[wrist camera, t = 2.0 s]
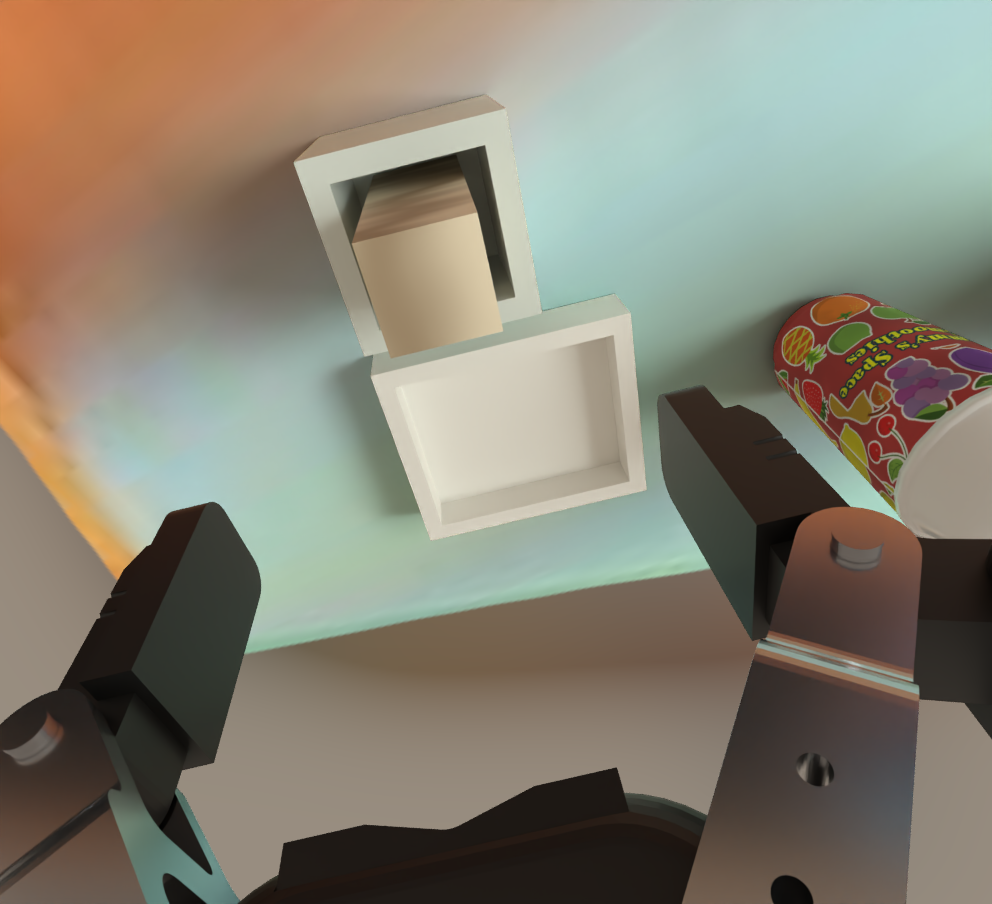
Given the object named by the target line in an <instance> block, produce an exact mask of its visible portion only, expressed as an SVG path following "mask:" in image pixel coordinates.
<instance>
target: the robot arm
mask: <svg viewBox="0 0 992 904" xmlns="http://www.w3.org/2000/svg"><path fill="white" fill-rule="evenodd" d="M657 407H658V422H659V436H660V450H661V464H662V471H663V476H664V480H665V484H666V487H667V490H668V493H669V495H670V497H671V499H672V501H673V503H674V505H675V506H676V508H677V510H678V512H679V513H680V515H681V517H682V519H683V521H684V522H685V524H686V526H687V528H688V529H689V531H690V533H691V535H692V536H693V538H694V540H695V542H696V543H697V545H698V547H699V549H700V550H701V552H702V554H703V556H704V557H705V559H706V561H707V563H708V564H709V566H710V568H711V570H712V571H713V573H714V575H715V577H716V579H717V580H718V582H719V584H720V586H721V587H722V589H723V591H724V593H725V594H726V596H727V598H728V600H729V601H730V603H731V605H732V607H733V608H734V610H735V612H736V614H737V615H738V617H739V619H740V621H741V622H742V624H743V626H744V628H745V629H746V631H747V633H748V635H749V636H750V638H751V640H752V641H754V640H757V639H761V640H760V641H759V643H758V645H757V648H756V651H755V653H754V657H753V660H752V663H751V667H750V670H749V674H748V677H747V681H746V684H745V688H744V691H743V695H742V698H741V702H740V705H739V708H738V712H737V715H736V719H735V722H734V726H733V729H732V732H731V736H730V740H729V743H728V746H727V750H726V753H725V757H724V760H723V764H722V767H721V770H720V774H719V777H718V781H717V784H716V788H715V791H714V795H713V798H712V802H711V805H710V808H709V812H708V815H705V814H703V813H701V812H699V811H697V810H694V809H692V808H690V807H688V806H686V805H683V804H680V803H677V802H674V801H670V800H668V799H665V798H660V797H654V796H649V795H644V794H634V793H624V791H623V788H622V784H621V780H620V777H619V773H618V770H617V768H612V769H608V770H603V771H599V772H595V773H590V774H586V775H582V776H577V777H573V778H568V779H564V780H560V781H556V782H551V783H546V784H542V785H537V786H534V787H532V788H530V789H528V790H526V791H524V792H522V793H520V794H519V795H517V796H515V797H513V798H511V799H509V800H507V801H505V802H503V803H501V804H499V805H498V806H496V807H494V808H492V809H490V810H488V811H486V812H484V813H482V814H481V815H479V816H477V817H475V818H473V819H471V820H469V821H467V822H465V823H463V824H462V825H460V826H457V827H455V828H452V829H447V830H438V829H421V828H407V827H391V826H390V827H389V826H376V825H362V826H357V827H353V828H348V829H344V830H340V831H335V832H331V833H326V834H322V835H317V836H314V837H309V838H305V839H300V840H296V841H291V842H287V843H284V844H283V850H282V857H281V863H280V869H279V875H277V876H276V877H274V878H272V879H270V880H269V881H267V882H266V883H264V884H263V885H262V886H260V887H258V888H257V889H255V890H254V891H252V892H251V893H250V894H249V895H247V896H246V897H245V898H244V899H243V900H241V901H240V900H239V899H238V897H237V896H236V894H235V893H234V891H233V890H232V888H231V887H230V885H229V883H228V881H227V880H226V878H225V875H224V873H223V872H222V869H221V867H220V865H219V863H218V861H217V860H216V857H215V855H214V853H213V852H212V850H211V847H210V845H209V843H208V841H207V839H206V838H205V836H204V834H203V832H202V829H201V828H200V826H199V824H198V822H197V820H196V818H195V816H194V814H193V812H192V810H191V808H190V806H189V804H188V802H187V800H186V798H185V796H184V795H183V793H181V792H180V791H179V789H178V788H177V784H178V781H179V778H180V775H181V772H182V770H185V769H190V768H194V767H198V766H203V765H207V764H211V763H214V760H215V756H216V753H217V749H218V746H219V742H220V738H221V735H222V731H223V728H224V724H225V720H226V717H227V713H228V709H229V706H230V703H231V699H232V695H233V692H234V688H235V684H236V681H237V677H238V674H239V670H240V666H241V663H242V659H243V656H244V652H245V649H246V645H247V641H248V638H249V634H250V631H251V627H252V623H253V620H254V616H255V613H256V609H257V605H258V602H259V598H260V594H261V579H260V574H259V570H258V567H257V565H256V562H255V560H254V559H253V557H252V555H251V554H250V552H249V550H248V549H247V547H246V546H245V544H244V542H243V541H242V539H241V537H240V536H239V534H238V532H237V531H236V529H235V527H234V526H233V524H232V522H231V521H230V519H229V517H228V516H227V514H226V512H225V511H224V509H223V508H222V507H221V506H220V505H219V504H217V503H215V502H209V503H205V504H201V505H197V506H193V507H189V508H185V509H180V510H176V511H172V512H170V513H169V514H168V515H167V516H166V517H165V519H164V521H163V523H162V525H161V527H160V528H159V530H158V532H157V534H156V536H155V538H154V540H153V542H152V544H151V545H149V546H146V547H145V548H144V549H143V550H142V551H141V553H140V554H139V555H138V556H137V557H136V558H135V559H134V560H133V561H132V562H131V563H130V564H129V565H128V566H127V567H126V568H125V569H124V570H123V572H122V574H121V576H120V578H119V579H118V581H117V583H116V585H115V587H114V589H113V591H112V592H111V598H109V599H108V600H107V601H106V603H105V605H104V607H103V609H102V610H101V613H100V618H99V619H96V621H95V623H94V625H93V627H92V629H91V630H90V632H89V634H88V636H87V638H86V639H85V641H84V643H83V645H82V647H81V648H80V650H79V652H78V654H77V656H76V657H75V659H74V661H73V663H72V665H71V667H70V668H69V670H68V672H67V674H66V676H65V677H64V679H63V681H62V683H61V685H60V687H59V688H58V690H56V691H52V692H49V693H47V694H44V695H41V696H39V697H38V698H35V699H34V700H32V701H30V702H28V703H27V704H25V705H24V706H22V707H21V708H20V709H18V710H17V711H15V712H14V713H13V714H11V715H10V716H9V717H8V718H7V719H5V720H4V722H2V723H1V724H0V904H906V897H907V896H906V895H907V881H908V865H909V849H910V836H911V821H912V805H913V790H914V775H915V760H916V744H917V730H918V714H919V699H922V700H936V701H948V702H962V703H965V704H966V706H967V707H968V708H969V710H970V711H971V712H972V714H973V715H974V716H975V718H976V719H977V720H978V722H979V723H980V724H981V725H982V727H983V728H984V729H985V730H986V732H987V733H988V735H989V736H990V737H991V739H992V539H933V538H919V537H916V536H915V535H914V534H913V533H912V532H911V531H910V529H908V528H907V527H906V526H905V525H903V524H902V523H901V522H899V521H897V520H895V519H894V518H892V517H889V516H887V515H885V514H882V513H879V512H876V511H873V510H869V509H864V508H857V507H850V506H849V505H848V504H847V503H846V502H845V501H844V500H843V499H842V498H841V496H840V495H839V494H838V493H837V492H836V491H835V490H834V489H833V488H832V487H831V486H830V485H829V484H828V483H827V482H826V481H825V480H824V479H823V477H822V476H821V475H820V474H819V473H818V472H817V471H816V470H815V469H814V468H813V467H812V466H811V465H810V464H809V463H808V462H807V461H806V460H805V458H804V457H803V456H802V455H801V454H800V453H799V454H797V452H796V449H795V448H794V447H793V446H792V445H791V444H790V443H789V442H788V441H787V439H786V438H785V439H783V437H782V434H781V433H780V432H779V431H778V430H777V429H776V428H775V427H774V426H773V425H772V424H771V423H770V422H769V420H768V419H767V418H766V417H764V416H762V415H760V414H757V413H755V412H753V411H751V410H749V409H747V408H745V407H743V406H740V405H737V406H733V407H728V408H723V407H722V406H721V405H720V403H719V402H718V401H717V400H716V399H715V398H714V396H713V395H712V394H711V393H710V392H709V391H708V389H707V388H706V387H705V386H703V385H699V386H694V387H690V388H686V389H682V390H678V391H674V392H670V393H665V394H661V395H659V397H658V403H657ZM762 638H766V640H763V639H762Z"/></svg>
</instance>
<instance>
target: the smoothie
mask: <svg viewBox="0 0 992 904" xmlns="http://www.w3.org/2000/svg"><path fill="white" fill-rule="evenodd" d="M773 360H774V363H775V367H774V372H775V375H776V378H777V381H778V383H779V385H780V386H781V387H782V388H783V389H784V390H785V391H786V393H787V394H788V395H789V396H790V397H791V398H792V399H793V400H794V401H795V402H796V403H797V404H798V406H799V407H800V408H801V409H802V410H803V411H804V412H805V413H806V414H807V415H808V416H809V418H810V419H811V420H812V421H813V422H814V423H815V424H816V425H817V426H818V427H819V429H820V430H821V431H822V432H823V433H824V434H825V435H826V436H827V437H828V438H829V439H830V441H831V442H832V443H833V444H834V445H835V446H836V447H837V448H838V449H839V450H840V451H841V453H842V454H843V455H844V456H845V457H846V458H847V459H848V460H849V461H850V462H851V463H852V465H853V466H854V467H855V468H856V469H857V470H858V471H859V472H860V473H861V474H862V475H863V477H864V478H865V479H866V480H867V481H868V482H869V483H870V484H871V485H872V486H873V488H874V489H875V490H876V491H877V492H878V493H879V494H880V495H881V496H882V497H883V498H884V500H885V501H886V502H887V503H888V504H889V505H890V506H891V507H892V508H893V509H894V510H895V511H896V513H897V515H898V516H899V518H900V519H901V520H902V521H903V522H904V524H905V525H906V526H907V527H908V528H909V529H910V531H911V532H912V533H914V534H916V535H919V536H921V537H924V538H933V539H992V350H991V349H989V348H987V347H984V346H982V345H980V344H977V343H975V342H973V341H970V340H968V339H966V338H963V337H961V336H959V335H956V334H954V333H951V332H949V331H947V330H944V329H942V328H940V327H937V326H935V325H933V324H930V323H928V322H926V321H923V320H921V319H919V318H916V317H914V316H912V315H909V314H907V313H905V312H902V311H900V310H898V309H895V308H893V307H890V306H888V305H886V304H883V303H881V302H879V301H876V300H874V299H872V298H869V297H867V296H865V295H862V294H850V293H845V294H841V295H837V296H827V297H823V298H819V299H815V300H813V301H811V302H810V303H808V304H806V305H804V306H802V307H801V308H800V309H798V310H797V311H796V312H795V313H794V314H793V315H792V316H791V317H789V318H788V320H787V321H786V323H785V324H784V325H783V327H782V328H781V330H780V331H779V333H778V336H777V339H776V341H775V344H774V352H773Z"/></svg>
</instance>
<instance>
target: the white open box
mask: <svg viewBox="0 0 992 904" xmlns="http://www.w3.org/2000/svg"><path fill="white" fill-rule="evenodd" d="M452 155H456V156H457V159H458V161H459V164H460V167H461V169H462V172H463V175H464V177H465V180H466V183H467V186H468V188H469V191H470V194H471V196H472V199H473V202H474V204H475V207H476V210H477V213H478V217H479V222H480V226H481V231H482V236H483V240H484V245H485V249H486V254H487V258H488V263H489V268H490V272H491V277H492V281H493V286H494V290H495V295H496V300H497V304H498V309H499V313H500V318H501V322H502V323H505V322H509V321H514V320H518V319H522V318H526V317H530V316H534V315H538V314H542V309H541V303H540V298H539V292H538V286H537V281H536V275H535V269H534V264H533V258H532V252H531V247H530V241H529V235H528V230H527V224H526V218H525V213H524V207H523V201H522V196H521V190H520V184H519V179H518V173H517V167H516V162H515V156H514V151H513V145H512V139H511V134H510V128H509V122H508V117H507V111H506V108H505V107H503V106H502V105H501V104H499V103H498V102H496V101H495V100H493V99H492V98H491V97H489V96H488V95H482V96H478V97H474V98H470V99H467V100H463V101H459V102H455V103H451V104H447V105H443V106H439V107H435V108H431V109H427V110H423V111H419V112H415V113H411V114H407V115H404V116H400V117H396V118H392V119H388V120H384V121H380V122H376V123H372V124H368V125H364V126H360V127H356V128H352V129H348V130H344V131H340V132H337V133H333V134H329V135H325V136H321V137H319V138H318V139H317V140H316V141H315V142H314V143H313V144H312V145H311V146H310V147H309V148H308V149H306V150H305V151H304V152H303V153H302V154H301V155H300V156H299V157H298V158H297V159H296V160H295V161H294V162H293V163H294V166H295V168H296V171H297V174H298V177H299V179H300V182H301V185H302V188H303V190H304V193H305V196H306V198H307V201H308V204H309V207H310V209H311V212H312V215H313V218H314V220H315V223H316V226H317V228H318V231H319V234H320V237H321V239H322V242H323V245H324V248H325V250H326V253H327V256H328V259H329V261H330V264H331V267H332V269H333V272H334V275H335V278H336V280H337V283H338V286H339V289H340V291H341V294H342V297H343V300H344V302H345V305H346V308H347V310H348V313H349V316H350V319H351V321H352V324H353V327H354V330H355V332H356V335H357V338H358V341H359V343H360V346H361V349H362V351H363V354H364V357H366V356H370V355H374V354H378V353H382V352H386V351H388V349H387V346H386V343H385V340H384V337H383V334H382V331H381V329H380V326H379V323H378V320H377V317H376V314H375V311H374V308H373V305H372V302H371V299H370V296H369V293H368V290H367V287H366V284H365V281H364V278H363V276H362V273H361V270H360V267H359V264H358V261H357V258H356V255H355V252H354V249H353V246H352V241H353V238H354V235H355V232H356V229H357V225H358V222H359V219H360V216H361V213H362V210H363V207H364V203H365V200H366V197H367V194H368V191H369V188H370V185H371V182H372V178H373V175H377V174H381V173H385V172H389V171H393V170H397V169H401V168H405V167H409V166H413V165H416V164H420V163H424V162H428V161H432V160H436V159H440V158H444V157H448V156H452Z"/></svg>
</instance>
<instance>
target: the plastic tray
mask: <svg viewBox="0 0 992 904" xmlns="http://www.w3.org/2000/svg"><path fill="white" fill-rule="evenodd" d="M502 327H503V331H502V332H498V333H494V334H490V335H486V336H482V337H477V338H473V339H469V340H465V341H461V342H457V343H453V344H449V345H445V346H441V347H436V348H432V349H428V350H424V351H420V352H416V353H412V354H408V355H404V356H399V357H395V358H390V355H389V352H388V351H386V352H382V353H378V354H374V355H373V361H372V369H371V379H372V382H373V384H374V387H375V390H376V392H377V395H378V398H379V401H380V403H381V406H382V409H383V411H384V414H385V417H386V420H387V422H388V425H389V428H390V431H391V433H392V436H393V439H394V441H395V444H396V447H397V450H398V452H399V455H400V458H401V461H402V463H403V466H404V469H405V471H406V474H407V477H408V480H409V482H410V485H411V488H412V491H413V493H414V496H415V499H416V501H417V504H418V507H419V510H420V512H421V515H422V518H423V520H424V523H425V526H426V529H427V531H428V534H429V537H430V540H431V541H432V540H437V539H441V538H445V537H449V536H454V535H458V534H462V533H466V532H471V531H475V530H479V529H483V528H488V527H492V526H496V525H501V524H505V523H509V522H513V521H518V520H522V519H526V518H530V517H535V516H539V515H543V514H547V513H552V512H556V511H560V510H564V509H569V508H573V507H577V506H581V505H586V504H590V503H594V502H598V501H603V500H607V499H611V498H615V497H620V496H624V495H628V494H632V493H637V492H641V491H645V490H647V488H646V477H645V466H644V455H643V444H642V433H641V422H640V411H639V400H638V389H637V378H636V367H635V356H634V345H633V334H632V323H631V313H630V312H629V310H628V309H627V308H626V307H625V305H624V304H623V303H622V302H621V300H620V299H619V298H618V297H617V295H616V294H611V295H607V296H603V297H599V298H595V299H591V300H587V301H583V302H579V303H574V304H570V305H566V306H562V307H558V308H554V309H550V310H546V311H542V314H538V315H534V316H530V317H526V318H522V319H518V320H514V321H509V322H505V323H502Z"/></svg>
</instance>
